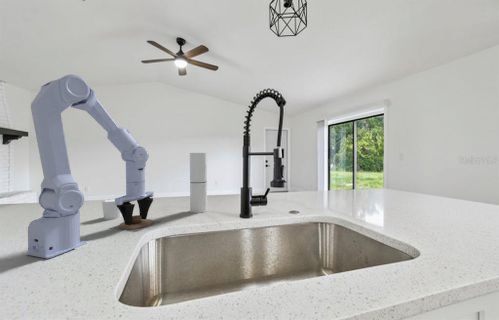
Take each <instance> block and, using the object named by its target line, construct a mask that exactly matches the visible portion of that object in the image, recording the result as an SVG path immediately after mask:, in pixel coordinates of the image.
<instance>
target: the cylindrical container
mask: <svg viewBox="0 0 499 320" xmlns="http://www.w3.org/2000/svg"><path fill="white" fill-rule="evenodd" d="M207 158H208V155H207V152H189V207H190V208H189V212H190V213H197V214H202V212H204V213H206V211H207V212H208V162H207V161H208V159H207Z"/></svg>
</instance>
